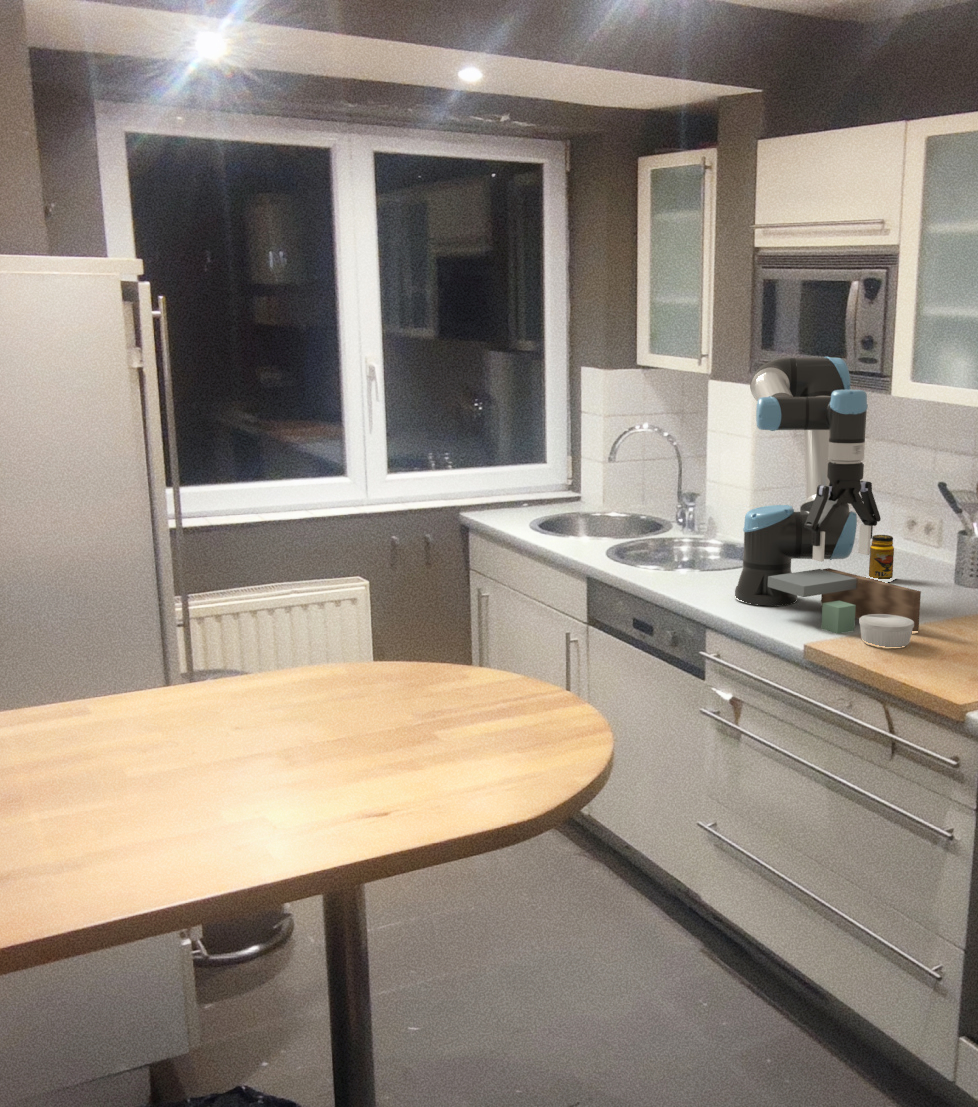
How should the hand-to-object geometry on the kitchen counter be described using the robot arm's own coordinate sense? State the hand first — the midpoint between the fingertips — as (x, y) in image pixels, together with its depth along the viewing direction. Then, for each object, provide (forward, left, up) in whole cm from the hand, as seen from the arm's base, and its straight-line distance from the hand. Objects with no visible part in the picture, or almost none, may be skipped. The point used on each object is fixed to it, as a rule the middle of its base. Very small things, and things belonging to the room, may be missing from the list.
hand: (841, 557), depth 245 cm
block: (0, 0, -17) cm, 17 cm away
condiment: (-32, +45, -17) cm, 58 cm away
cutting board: (-3, +12, -17) cm, 21 cm away
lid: (-12, +3, -10) cm, 15 cm away
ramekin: (+13, +1, -17) cm, 21 cm away
